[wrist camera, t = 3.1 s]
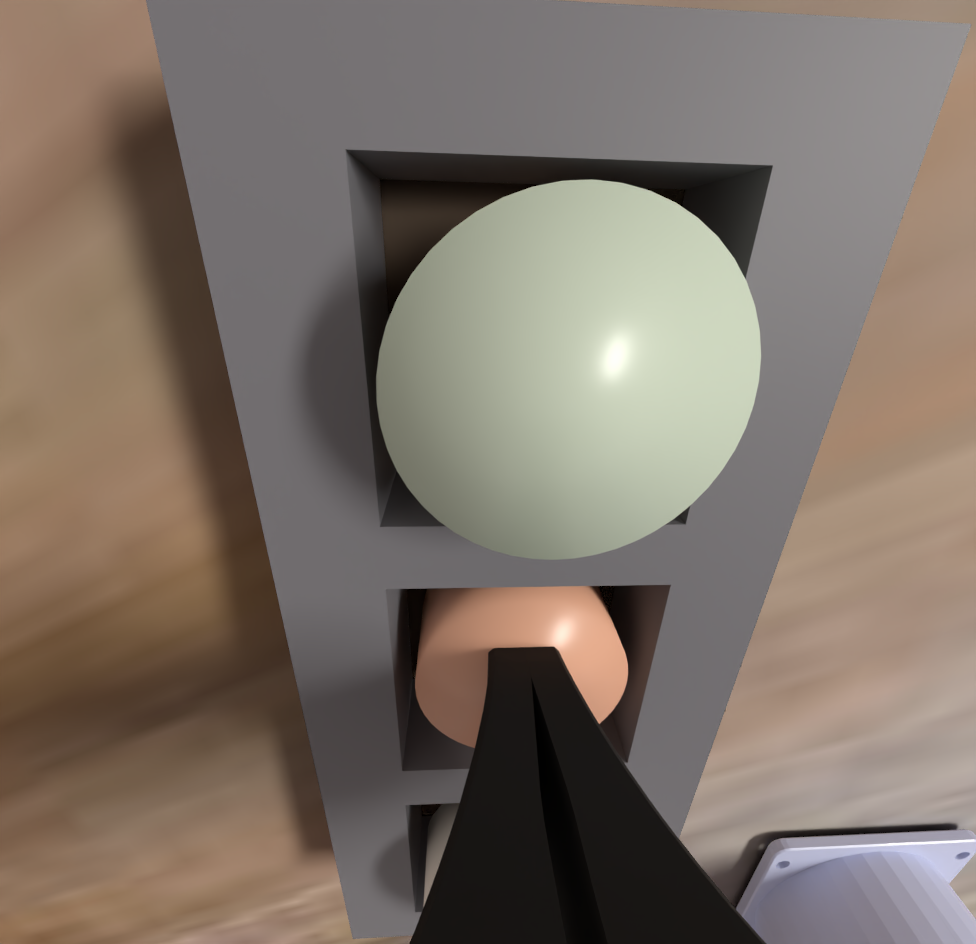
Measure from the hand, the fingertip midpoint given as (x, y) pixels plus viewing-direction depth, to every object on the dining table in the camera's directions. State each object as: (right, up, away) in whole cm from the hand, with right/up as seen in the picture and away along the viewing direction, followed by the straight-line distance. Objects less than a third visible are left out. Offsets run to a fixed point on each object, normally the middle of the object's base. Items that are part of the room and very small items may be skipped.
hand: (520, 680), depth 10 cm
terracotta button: (0, +1, +2) cm, 2 cm away
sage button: (0, +6, -2) cm, 7 cm away
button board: (0, +1, +2) cm, 2 cm away
